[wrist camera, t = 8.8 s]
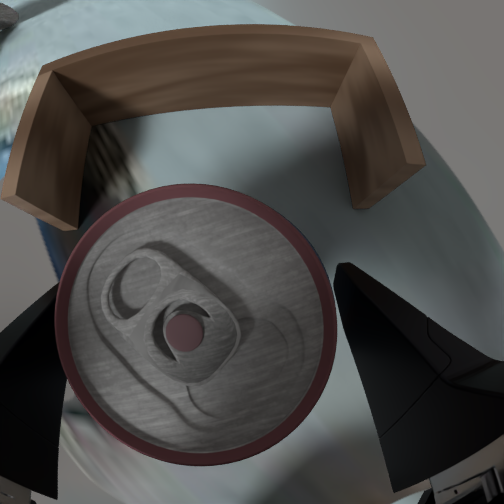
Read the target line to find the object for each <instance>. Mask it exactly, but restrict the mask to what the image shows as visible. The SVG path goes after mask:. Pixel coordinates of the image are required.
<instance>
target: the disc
mask: <svg viewBox="0 0 504 504" xmlns="http://www.w3.org/2000/svg"><path fill="white" fill-rule="evenodd" d="M18 19H19V16H18V13H17V12H16V11H15V10H14V9H12V8H11V7H9V6H8V5H5V4H3V3H0V30H3V29H6V28H9V27H11V26H13V25H14V24H15V23H16V22H17V21H18Z"/></svg>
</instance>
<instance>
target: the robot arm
mask: <svg viewBox="0 0 504 504" xmlns="http://www.w3.org/2000/svg"><path fill="white" fill-rule="evenodd" d="M59 283H60V282H59ZM59 283H57V284H56V285H55V286H54V287H52V288H51V289H50V290H49V291H47V292H46V293H45V294H44V295H43V296H42V297H40V298H39V299H38V300H37V301H35V302H34V303H33V304H32V305H31V306H30V307H29V308H27V309H26V310H25V311H24V312H23V313H22V314H20V315H19V316H18V317H17V318H16V319H15V320H14V321H13V322H12V323H10V324H9V325H8V326H7V327H6V328H5V329H4V330H3V331H2V332H1V333H0V504H36V502H35V501H33V500H31V491H35V492H37V493H40V494H42V495H45V496H47V497H50V498H53V499H56V500H57V498H58V453H59V452H58V451H59V448H58V447H59V437H60V426H61V417H62V408H63V401H64V394H65V388H66V381H67V377H66V375H65V372H64V370H63V367H62V364H61V361H60V357H59V353H58V349H57V343H56V336H55V304H56V297H57V292H58V287H59ZM333 287H334V292H335V296H336V300H337V304H338V308H339V313H340V317H341V321H342V325H343V329H344V332H345V335H346V338H347V340H348V343H349V346H350V349H351V352H352V355H353V357H354V360H355V363H356V366H357V369H358V372H359V375H360V378H361V381H362V384H363V387H364V390H365V394H366V397H367V400H368V403H369V406H370V410H371V413H372V416H373V419H374V423H375V426H376V429H377V433H378V436H379V438H380V439H379V440H380V444H381V447H382V451H383V455H384V458H385V462H386V466H387V470H388V473H389V477H390V481H391V485H392V489H393V492H394V493H395V492H398V491H401V490H403V489H406V488H408V487H410V486H413V485H415V484H417V483H420V482H422V481H424V480H426V479H428V478H429V480H430V484H431V487H432V488H430V489H428V490H426V491H424V493H423V495H422V496H421V498H420V500H419V502H418V504H504V361H498V360H495V359H492V358H490V357H488V356H486V355H484V354H483V353H481V352H480V351H478V350H477V349H475V348H474V347H472V346H470V345H469V344H467V343H466V342H464V341H462V340H461V339H459V338H458V337H456V336H455V335H453V334H452V333H450V332H449V331H447V330H446V329H444V328H443V327H442V326H440V325H439V324H437V323H436V322H435V321H433V320H432V319H430V318H429V317H427V316H426V315H425V314H424V313H422V312H421V311H419V310H418V309H417V308H415V307H414V306H412V305H411V304H410V303H408V302H407V301H405V300H404V299H403V298H401V297H400V296H398V295H397V294H396V293H394V292H393V291H391V290H390V289H388V288H387V287H386V286H384V285H383V284H381V283H380V282H378V281H377V280H375V279H374V278H373V277H371V276H370V275H368V274H367V273H365V272H364V271H362V270H361V269H359V268H358V267H356V266H355V265H353V264H352V263H350V262H345V263H339V264H338V265H337V268H336V273H335V278H334V283H333Z"/></svg>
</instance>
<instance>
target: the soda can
mask: <svg viewBox="0 0 504 504" xmlns="http://www.w3.org/2000/svg"><path fill="white" fill-rule="evenodd" d="M55 336H56V343H57V349H58V353H59V357H60V361H61V364H62V367H63V370H64V372H65V375H66V377H67V379H68V381H69V384H70V385H71V387H72V389H73V391H74V393H75V395H76V396H77V398H78V399H79V401H80V402H81V404H82V405H83V407H84V408H85V409H86V410H87V412H88V413H89V414H90V415H91V416H92V417H93V419H94V420H95V421H96V422H97V423H98V424H99V425H100V426H101V427H102V428H104V429H105V430H106V431H107V432H108V433H109V434H111V435H112V436H113V437H115V438H116V439H117V440H119V441H120V442H122V443H123V444H125V445H127V446H128V447H130V448H132V449H134V450H136V451H138V452H140V453H142V454H144V455H147V456H149V457H152V458H155V459H158V460H161V461H165V462H169V463H173V464H179V465H187V466H215V465H223V464H229V463H233V462H237V461H240V460H244V459H247V458H250V457H252V456H254V455H257V454H259V453H261V452H263V451H265V450H267V449H269V448H271V447H272V446H274V445H275V444H277V443H279V442H280V441H281V440H283V439H284V438H285V437H287V436H288V435H289V434H290V433H291V432H292V431H294V430H295V429H296V428H297V427H298V426H299V425H300V424H301V423H302V422H303V421H304V419H305V418H306V417H307V416H308V414H309V413H310V412H311V410H312V409H313V408H314V406H315V405H316V403H317V401H318V400H319V398H320V396H321V394H322V393H323V390H324V388H325V386H326V384H327V381H328V379H329V376H330V373H331V370H332V366H333V362H334V358H335V352H336V344H337V315H336V307H335V300H334V295H333V291H332V287H331V284H330V280H329V277H328V275H327V272H326V270H325V267H324V265H323V263H322V261H321V259H320V257H319V256H318V254H317V253H316V251H315V249H314V248H313V246H312V245H311V244H310V242H309V241H308V240H307V238H306V237H305V236H304V235H303V234H302V233H301V232H300V231H299V230H298V229H297V228H296V227H295V226H294V225H293V224H292V223H291V222H290V221H288V220H287V219H286V218H285V217H283V216H282V215H281V214H279V213H278V212H276V211H275V210H273V209H272V208H270V207H268V206H267V205H265V204H263V203H262V202H260V201H258V200H256V199H254V198H252V197H250V196H248V195H245V194H243V193H240V192H237V191H234V190H231V189H228V188H223V187H219V186H213V185H206V184H175V185H168V186H162V187H158V188H154V189H150V190H148V191H145V192H142V193H139V194H137V195H135V196H132V197H130V198H128V199H126V200H124V201H123V202H121V203H119V204H118V205H116V206H115V207H113V208H112V209H110V210H109V211H108V212H106V213H105V214H104V215H103V216H101V217H100V218H99V219H98V220H97V221H96V222H95V223H94V224H93V225H92V226H91V227H90V228H89V229H88V230H87V232H86V233H85V234H84V235H83V237H82V238H81V239H80V241H79V242H78V244H77V245H76V247H75V248H74V250H73V252H72V253H71V255H70V257H69V259H68V261H67V263H66V266H65V268H64V271H63V273H62V276H61V280H60V283H59V287H58V292H57V297H56V304H55Z"/></svg>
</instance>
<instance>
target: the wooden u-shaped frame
mask: <svg viewBox="0 0 504 504" xmlns="http://www.w3.org/2000/svg"><path fill="white" fill-rule="evenodd" d="M262 105H287V106H317V107H331V111H332V115H333V119H334V122H335V126H336V130H337V134H338V138H339V143H340V147H341V151H342V156H343V160H344V165H345V169H346V174H347V179H348V184H349V189H350V195H351V200H352V206H353V209H369V208H370V207H372V206H373V205H374V204H376V203H377V202H378V201H380V200H381V199H382V198H384V197H385V196H386V195H388V194H389V193H390V192H392V191H393V190H394V189H396V188H397V187H398V186H400V185H401V184H402V183H403V182H405V181H406V180H407V179H409V178H410V177H411V176H413V175H414V174H415V173H417V172H418V171H419V170H420V169H422V168H423V167H424V166H426V163H425V159H424V156H423V153H422V150H421V147H420V144H419V141H418V138H417V135H416V132H415V129H414V126H413V124H412V121H411V118H410V116H409V113H408V111H407V108H406V106H405V103H404V101H403V98H402V96H401V94H400V91H399V89H398V87H397V85H396V82H395V80H394V78H393V76H392V74H391V71H390V69H389V67H388V65H387V63H386V61H385V59H384V57H383V55H382V53H381V51H380V50H379V48H378V46H377V44H376V42H375V40H374V39H373V37H368V36H363V35H358V34H353V33H347V32H341V31H335V30H327V29H321V28H312V27H301V26H288V25H264V24H240V25H217V26H203V27H193V28H184V29H176V30H169V31H163V32H157V33H151V34H146V35H141V36H136V37H131V38H127V39H123V40H119V41H115V42H111V43H107V44H103V45H100V46H96V47H93V48H90V49H87V50H83V51H80V52H77V53H74V54H72V55H69V56H66V57H63V58H61V59H58V60H55V61H53V62H50V63H48V64H45V65H43V66H42V68H41V70H40V72H39V74H38V77H37V79H36V81H35V83H34V86H33V88H32V91H31V93H30V96H29V98H28V101H27V103H26V106H25V109H24V111H23V114H22V117H21V120H20V123H19V126H18V129H17V132H16V135H15V139H14V142H13V146H12V149H11V153H10V157H9V161H8V165H7V169H6V173H5V178H4V183H3V188H2V194H1V199H2V200H4V201H6V202H8V203H10V204H11V205H13V206H15V207H17V208H19V209H21V210H23V211H25V212H27V213H29V214H31V215H33V216H35V217H37V218H39V219H41V220H43V221H45V222H47V223H49V224H51V225H53V226H55V227H57V228H59V229H61V230H63V231H67V230H75V229H78V220H79V207H80V197H81V188H82V180H83V172H84V165H85V159H86V153H87V147H88V142H89V136H90V131H91V127H92V126H94V125H99V124H103V123H108V122H113V121H118V120H123V119H128V118H134V117H140V116H146V115H152V114H159V113H166V112H174V111H183V110H192V109H203V108H216V107H232V106H262Z"/></svg>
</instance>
